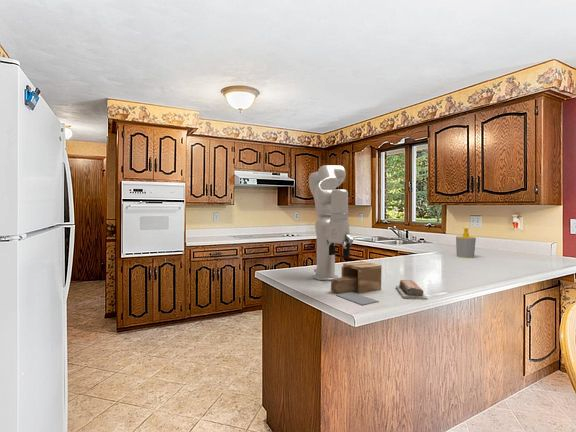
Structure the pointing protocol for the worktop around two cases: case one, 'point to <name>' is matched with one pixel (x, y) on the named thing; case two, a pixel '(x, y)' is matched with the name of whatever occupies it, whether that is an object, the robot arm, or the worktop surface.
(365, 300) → the grey mat
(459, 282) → the worktop surface
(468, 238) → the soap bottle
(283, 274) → the worktop surface
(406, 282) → the packaged product
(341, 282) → the walnut block
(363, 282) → the brown squarish box
